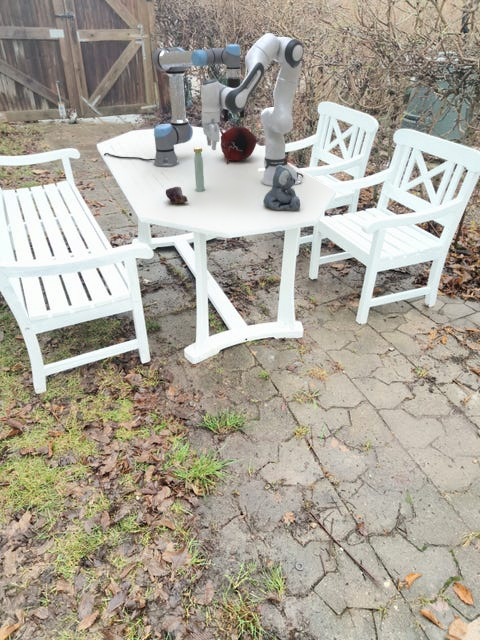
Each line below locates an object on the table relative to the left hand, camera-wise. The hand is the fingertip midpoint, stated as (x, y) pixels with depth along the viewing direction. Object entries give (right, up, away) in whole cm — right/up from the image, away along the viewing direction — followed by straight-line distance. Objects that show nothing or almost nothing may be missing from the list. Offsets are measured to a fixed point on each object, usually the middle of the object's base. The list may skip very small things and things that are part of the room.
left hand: (234, 119), depth 258 cm
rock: (-30, -54, -24) cm, 66 cm away
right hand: (-11, -29, -33) cm, 45 cm away
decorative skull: (+2, -7, +45) cm, 46 cm away
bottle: (-19, -43, -7) cm, 47 cm away
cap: (-19, -24, -19) cm, 37 cm away
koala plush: (+24, -57, -29) cm, 69 cm away
